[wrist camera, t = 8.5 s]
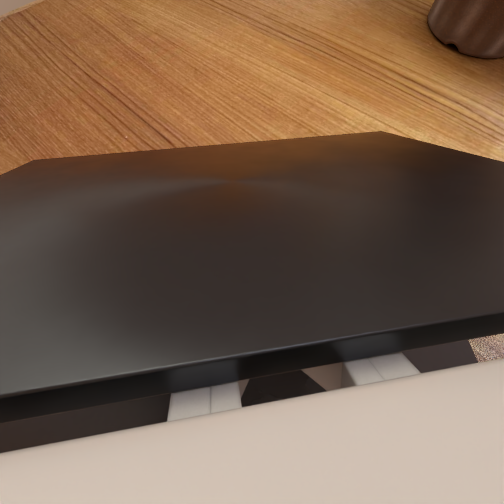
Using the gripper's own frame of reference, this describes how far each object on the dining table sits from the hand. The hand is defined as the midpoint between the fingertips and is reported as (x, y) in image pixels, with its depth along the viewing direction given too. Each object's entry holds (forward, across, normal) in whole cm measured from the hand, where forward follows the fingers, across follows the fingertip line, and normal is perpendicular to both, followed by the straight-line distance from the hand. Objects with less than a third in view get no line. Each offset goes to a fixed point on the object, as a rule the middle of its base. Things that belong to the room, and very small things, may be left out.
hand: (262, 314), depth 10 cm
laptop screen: (+7, 0, -3) cm, 8 cm away
